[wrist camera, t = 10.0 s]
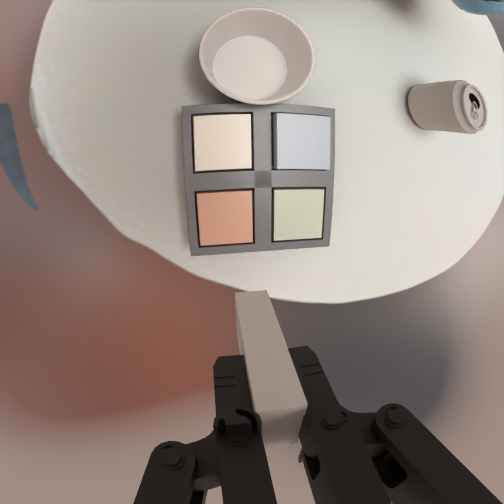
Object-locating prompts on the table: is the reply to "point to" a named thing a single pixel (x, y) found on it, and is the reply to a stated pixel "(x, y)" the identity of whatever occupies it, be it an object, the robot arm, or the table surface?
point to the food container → (257, 56)
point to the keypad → (254, 177)
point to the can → (448, 107)
